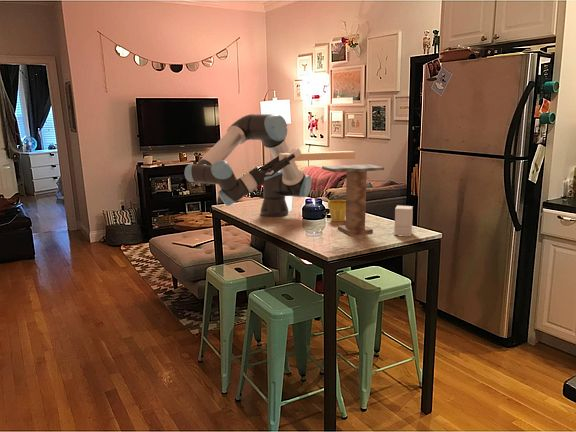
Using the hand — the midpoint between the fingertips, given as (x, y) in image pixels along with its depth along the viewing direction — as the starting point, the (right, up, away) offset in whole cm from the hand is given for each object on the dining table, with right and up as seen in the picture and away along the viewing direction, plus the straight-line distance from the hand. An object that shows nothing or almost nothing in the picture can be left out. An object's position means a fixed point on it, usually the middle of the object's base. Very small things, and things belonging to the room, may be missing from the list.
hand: (297, 150), depth 207 cm
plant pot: (+21, -30, +39) cm, 54 cm away
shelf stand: (+25, -35, +17) cm, 46 cm away
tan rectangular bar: (+9, -3, +4) cm, 10 cm away
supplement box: (+48, -37, +11) cm, 61 cm away
